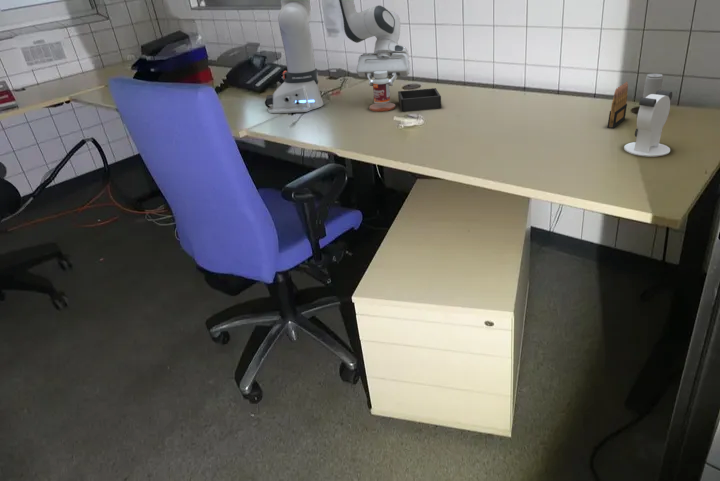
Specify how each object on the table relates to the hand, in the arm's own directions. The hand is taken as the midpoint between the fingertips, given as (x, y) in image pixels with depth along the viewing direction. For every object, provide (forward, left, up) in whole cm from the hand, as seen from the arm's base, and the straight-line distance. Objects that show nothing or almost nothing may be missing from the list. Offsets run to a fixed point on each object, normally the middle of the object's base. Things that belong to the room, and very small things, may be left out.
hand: (380, 85), depth 205 cm
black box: (+14, 0, -9) cm, 17 cm away
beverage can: (+85, -33, -9) cm, 92 cm away
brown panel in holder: (+71, -41, -9) cm, 83 cm away
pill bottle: (0, +1, -7) cm, 7 cm away
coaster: (0, +1, -9) cm, 9 cm away
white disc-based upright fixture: (+69, -65, -9) cm, 95 cm away
